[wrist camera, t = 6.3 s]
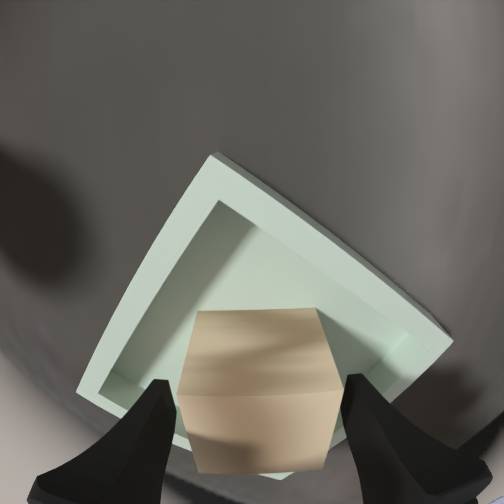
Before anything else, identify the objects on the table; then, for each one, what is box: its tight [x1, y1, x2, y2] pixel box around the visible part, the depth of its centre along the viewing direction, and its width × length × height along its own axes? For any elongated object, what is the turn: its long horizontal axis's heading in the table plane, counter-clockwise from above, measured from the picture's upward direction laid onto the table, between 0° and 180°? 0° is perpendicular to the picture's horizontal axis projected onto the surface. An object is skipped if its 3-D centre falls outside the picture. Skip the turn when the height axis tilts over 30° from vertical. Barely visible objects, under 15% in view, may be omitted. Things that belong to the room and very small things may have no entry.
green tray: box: [76, 152, 453, 480], centre depth 14 cm, size 13×13×2 cm
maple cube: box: [176, 307, 344, 474], centre depth 12 cm, size 5×5×5 cm
